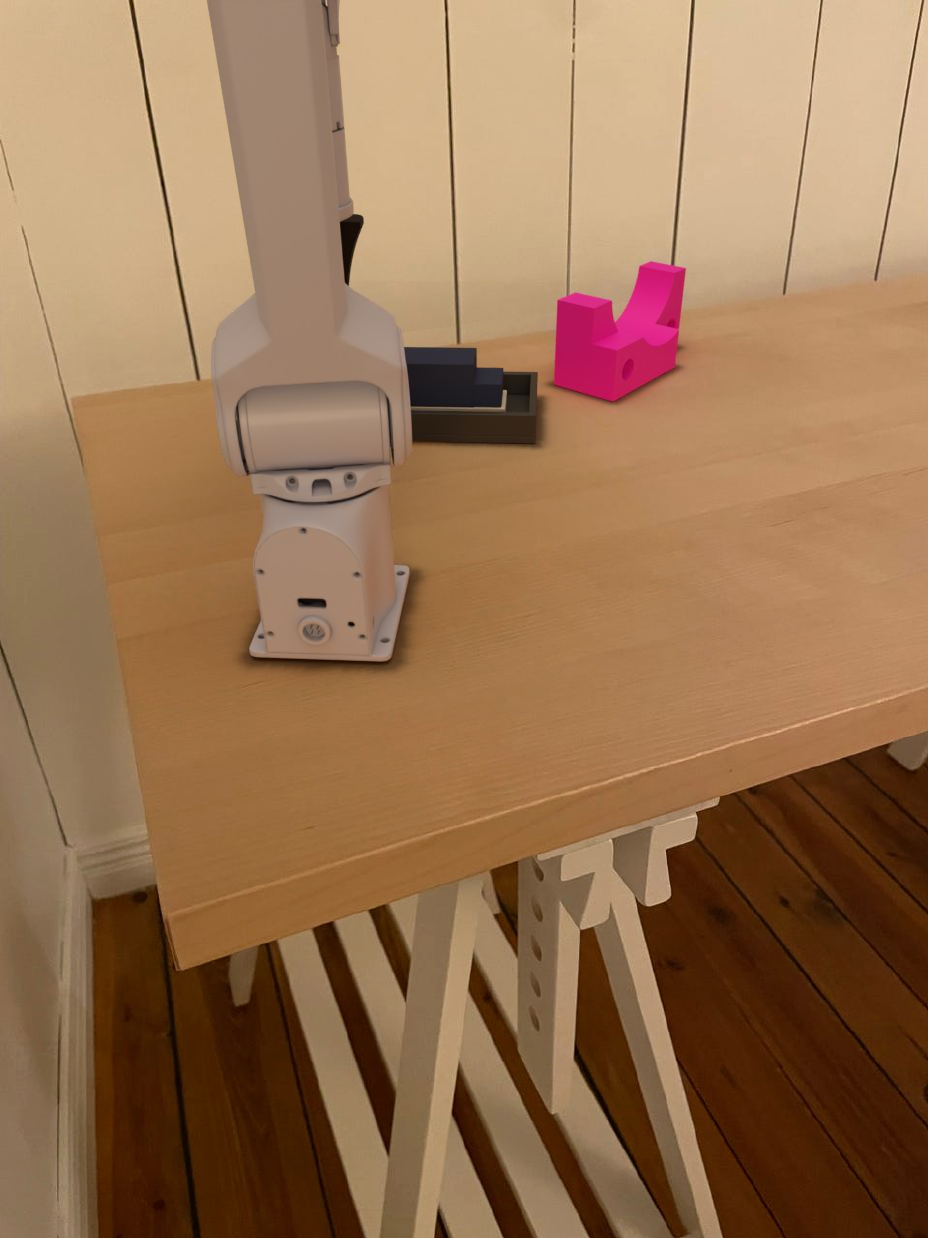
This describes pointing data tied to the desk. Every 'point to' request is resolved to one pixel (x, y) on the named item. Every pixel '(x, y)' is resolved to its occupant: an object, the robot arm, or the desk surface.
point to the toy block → (620, 335)
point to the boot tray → (485, 417)
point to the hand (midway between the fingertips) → (320, 338)
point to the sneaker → (452, 381)
